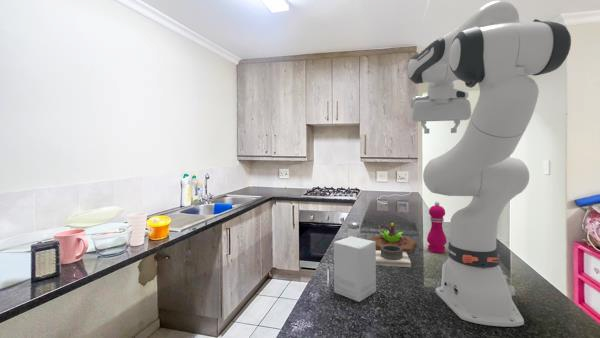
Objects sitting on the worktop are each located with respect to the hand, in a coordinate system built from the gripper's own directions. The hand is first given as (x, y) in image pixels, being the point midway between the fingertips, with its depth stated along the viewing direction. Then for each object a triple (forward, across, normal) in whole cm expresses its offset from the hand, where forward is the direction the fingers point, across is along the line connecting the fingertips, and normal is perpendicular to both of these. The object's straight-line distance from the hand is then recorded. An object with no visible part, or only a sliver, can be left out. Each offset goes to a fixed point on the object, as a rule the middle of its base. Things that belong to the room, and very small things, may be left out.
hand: (440, 133), depth 113 cm
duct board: (+47, -18, -5) cm, 51 cm away
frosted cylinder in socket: (+47, -32, +3) cm, 57 cm away
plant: (+48, -16, +13) cm, 52 cm away
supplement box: (+47, -32, -33) cm, 66 cm away
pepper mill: (+47, +1, +8) cm, 48 cm away
